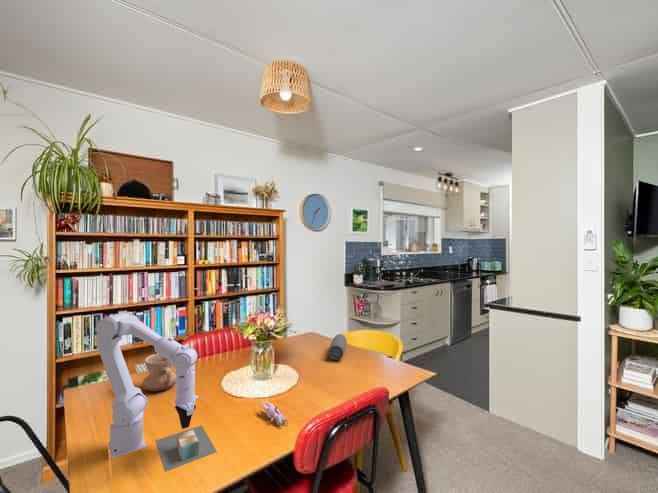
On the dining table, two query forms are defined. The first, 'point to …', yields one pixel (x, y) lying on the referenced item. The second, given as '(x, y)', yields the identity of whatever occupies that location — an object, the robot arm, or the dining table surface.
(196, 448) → the maple block
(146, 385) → the ceramic jug
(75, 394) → the dining table surface
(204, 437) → the rubber mat
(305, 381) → the dining table surface
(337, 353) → the bluetooth speaker
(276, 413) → the rabbit figure
